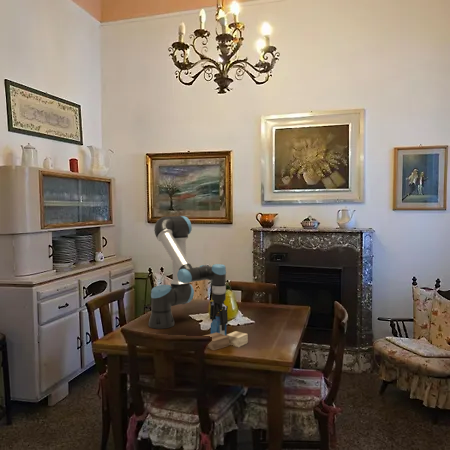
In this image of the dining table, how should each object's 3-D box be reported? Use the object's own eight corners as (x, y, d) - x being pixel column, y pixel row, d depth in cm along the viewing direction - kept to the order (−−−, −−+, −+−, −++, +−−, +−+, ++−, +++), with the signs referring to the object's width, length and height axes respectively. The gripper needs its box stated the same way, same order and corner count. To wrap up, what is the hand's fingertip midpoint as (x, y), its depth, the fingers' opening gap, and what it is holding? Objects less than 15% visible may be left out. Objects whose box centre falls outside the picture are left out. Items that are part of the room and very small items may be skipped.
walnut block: (201, 345, 222) (201, 336, 221) (216, 341, 228) (216, 332, 228) (213, 350, 214) (213, 341, 214) (228, 346, 220) (228, 336, 220)
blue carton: (217, 337, 232) (217, 315, 231) (210, 334, 237) (210, 313, 236) (226, 335, 235) (226, 314, 234) (219, 332, 240) (220, 311, 239)
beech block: (226, 344, 224) (226, 334, 223) (235, 340, 230) (235, 331, 230) (238, 347, 219) (238, 337, 218) (247, 343, 225) (247, 334, 225)
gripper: (203, 290, 240) (203, 331, 242) (223, 297, 224) (223, 340, 226) (214, 288, 244) (214, 328, 246) (234, 295, 229) (234, 337, 230)
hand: (218, 334), depth 236 cm, fingers closed on blue carton, 6 cm apart
